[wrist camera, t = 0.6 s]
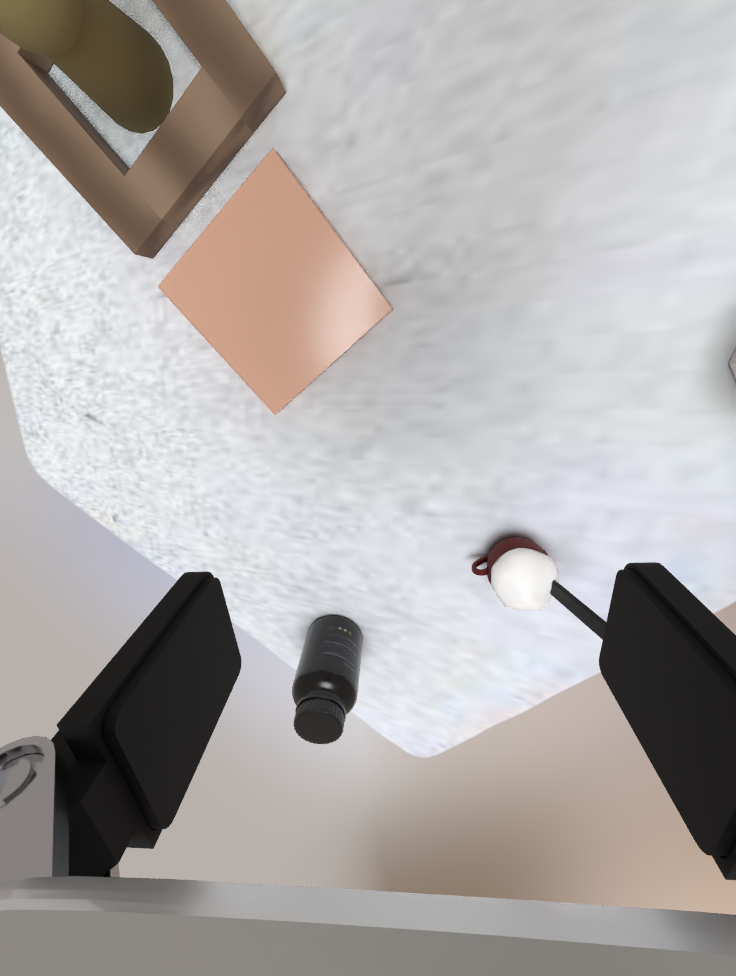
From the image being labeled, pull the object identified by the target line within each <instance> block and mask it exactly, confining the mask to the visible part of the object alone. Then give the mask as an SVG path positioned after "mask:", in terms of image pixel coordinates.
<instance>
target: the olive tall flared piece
mask: <svg viewBox="0 0 736 976" xmlns="http://www.w3.org/2000/svg"><path fill="white" fill-rule="evenodd" d="M0 33H1V34H2V35H3V36H4V37H6V38H7V39H9V40H10V41H11V42H13V43H15V44H16V45H18V46H20V47H21V48H23V49H25V50H26V51H28V52H31V53H34V54H38V55H43V56H47V57H48V58H49V59H50V60H51V61H52V62H53V63H54V64H55V65H56V66H57V67H58V68H59V69H60V70H62V71H63V72H64V73H65V74H66V75H67V76H68V77H69V78H70V79H71V80H72V81H73V82H74V83H75V84H76V85H77V86H78V87H79V88H80V89H81V90H82V91H83V92H85V93H86V94H87V95H88V96H89V97H90V98H91V99H92V100H93V101H94V102H95V103H96V104H97V105H98V106H99V107H100V108H101V109H102V110H103V111H104V112H105V113H106V114H108V115H109V116H110V117H111V118H112V119H113V120H114V121H115V122H116V123H117V124H118V125H120V126H122V127H123V128H125V129H127V130H129V131H132V132H138V133H145V132H149V131H153V130H154V129H156V128H157V127H158V126H160V125H161V124H162V123H163V122H164V120H165V118H166V117H167V115H168V113H169V112H170V108H171V103H172V99H173V78H172V74H171V70H170V66H169V62H168V60H167V58H166V56H165V54H164V52H163V50H162V48H161V46H160V45H159V44H158V43H157V42H156V40H155V39H154V38H153V37H152V36H151V35H150V34H149V33H148V32H147V31H146V30H145V29H143V28H142V27H141V26H140V25H138V24H137V23H136V22H135V21H133V20H132V19H131V18H130V17H128V16H127V15H126V14H125V13H124V12H122V11H121V10H120V9H119V8H117V7H116V6H115V5H114V4H112V3H111V2H110V1H109V0H0Z"/></svg>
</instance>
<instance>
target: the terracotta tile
mask: <svg viewBox="0 0 736 976" xmlns="http://www.w3.org/2000/svg"><path fill="white" fill-rule="evenodd" d="M158 287H159V289H160V290H161V291H162V292H163V293H164V294H165V295H166V296H167V297H168V298H169V299H170V301H171V302H172V303H173V304H174V305H175V306H176V307H177V308H178V309H179V310H180V312H181V313H182V314H183V315H184V316H185V317H186V318H187V319H188V320H189V321H190V323H191V324H192V325H193V326H194V327H195V328H196V329H197V330H198V331H199V332H200V333H201V335H202V336H203V337H204V338H205V339H206V340H207V341H208V342H209V343H210V344H211V346H212V347H213V348H214V349H215V350H216V351H217V352H218V353H219V354H220V355H221V357H222V358H223V359H224V360H225V361H226V362H227V363H228V364H229V365H230V366H231V367H232V369H233V370H234V371H235V372H236V373H237V374H238V375H239V376H240V377H241V378H242V380H243V381H244V382H245V383H246V384H247V385H248V386H249V387H250V388H251V389H252V391H253V392H254V393H255V394H256V395H257V396H258V397H259V398H260V399H261V400H262V401H263V403H264V404H265V405H266V406H267V407H268V408H269V409H270V410H271V411H272V412H273V414H274V415H275V414H277V413H278V412H279V411H280V410H281V409H282V408H284V407H285V406H286V405H287V404H288V403H289V402H290V401H291V400H292V399H294V398H295V397H296V396H297V395H298V394H299V393H300V392H301V391H302V390H303V389H305V388H306V387H307V386H308V385H309V384H310V383H311V382H312V381H313V380H315V379H316V378H317V377H318V376H319V375H320V374H321V373H322V372H323V371H325V370H326V369H327V368H328V367H329V366H330V365H331V364H332V363H333V362H335V361H336V360H337V359H338V358H339V357H340V356H341V355H342V354H343V353H345V352H346V351H347V350H348V349H349V348H350V347H351V346H352V345H353V344H355V343H356V342H357V341H358V340H359V339H360V338H361V337H362V336H363V335H365V334H366V333H367V332H368V331H369V330H370V329H371V328H372V327H373V326H375V325H376V324H377V323H378V322H379V321H380V320H381V319H382V318H383V317H384V316H386V315H387V314H388V313H389V312H390V311H391V310H392V308H391V306H390V305H389V304H388V302H387V301H386V300H385V298H384V297H383V296H382V294H381V293H380V291H379V290H378V289H377V287H376V286H375V285H374V283H373V282H372V281H371V279H370V278H369V277H368V275H367V274H366V273H365V271H364V270H363V269H362V267H361V266H360V265H359V263H358V262H357V261H356V259H355V258H354V256H353V255H352V254H351V252H350V251H349V250H348V248H347V247H346V246H345V244H344V243H343V242H342V240H341V239H340V238H339V236H338V235H337V234H336V232H335V231H334V230H333V228H332V227H331V226H330V224H329V223H328V221H327V220H326V219H325V217H324V216H323V215H322V213H321V212H320V211H319V209H318V208H317V207H316V205H315V204H314V203H313V201H312V200H311V199H310V197H309V196H308V195H307V193H306V192H305V191H304V189H303V188H302V186H301V185H300V184H299V182H298V181H297V180H296V178H295V177H294V176H293V174H292V173H291V172H290V170H289V169H288V168H287V166H286V165H285V164H284V162H283V161H282V160H281V158H280V157H279V156H278V154H277V153H276V151H275V150H274V149H273V148H272V149H271V150H270V152H269V153H268V154H267V155H266V157H265V158H264V159H263V160H262V161H261V163H260V164H259V165H258V166H257V167H256V169H255V170H254V171H253V172H252V173H251V175H250V176H249V177H248V178H247V179H246V181H245V182H244V183H243V184H242V185H241V187H240V188H239V189H238V190H237V192H236V193H235V194H234V195H233V196H232V198H231V199H230V200H229V201H228V202H227V204H226V205H225V206H224V207H223V208H222V210H221V211H220V212H219V213H218V214H217V216H216V217H215V218H214V219H213V220H212V222H211V223H210V224H209V225H208V226H207V228H206V229H205V230H204V231H203V233H202V234H201V235H200V236H199V237H198V239H197V240H196V241H195V242H194V243H193V245H192V246H191V247H190V248H189V249H188V251H187V252H186V253H185V254H184V255H183V257H182V258H181V259H180V260H179V261H178V263H177V264H176V265H175V266H174V268H173V269H172V270H171V271H170V272H169V274H168V275H167V276H166V277H165V278H164V280H163V281H162V282H161V283H160V284H159V286H158Z"/></svg>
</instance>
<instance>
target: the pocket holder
mask: <svg viewBox="0 0 736 976" xmlns="http://www.w3.org/2000/svg"><path fill="white" fill-rule="evenodd" d="M153 1H154V3H155V4H156V5H157V7H158V8H159V9H160V11H161V12H162V13H163V15H164V16H165V17H166V19H167V20H168V21H169V23H170V24H171V25H172V27H173V28H174V29H175V31H176V32H177V33H178V35H179V36H180V37H181V39H182V40H183V41H184V43H185V44H186V45H187V47H188V48H189V49H190V51H191V52H192V53H193V55H194V56H195V57H196V59H197V60H198V61H199V63H200V64H201V65H202V68H201V69H200V71H199V72H198V74H197V75H196V76H195V78H194V79H193V81H192V82H191V83H190V85H189V86H188V88H187V89H186V91H185V92H184V93H183V95H182V96H181V98H180V99H179V100H178V102H177V103H176V105H175V106H174V107H173V109H172V110H171V112H170V113H169V115H168V116H167V117H166V119H165V120H164V122H163V123H162V124H161V126H160V127H159V129H158V130H157V131H156V133H155V134H154V136H153V137H152V139H151V140H150V141H149V143H148V144H147V146H146V147H145V148H144V150H143V151H142V153H141V154H140V155H139V157H138V158H137V160H136V161H135V162H134V164H133V165H132V167H131V168H130V169H129V168H128V167H127V166H126V164H125V163H124V162H123V161H122V160H121V159H120V157H119V156H118V155H117V154H116V153H115V152H114V150H113V149H112V148H111V147H110V146H109V145H108V143H107V142H106V141H105V140H104V139H103V137H102V136H101V135H100V134H99V133H98V132H97V130H96V129H95V128H94V127H93V126H92V125H91V123H90V122H89V121H88V120H87V119H86V118H85V116H84V115H83V114H82V113H81V112H80V111H79V109H78V108H77V107H76V106H75V105H74V104H73V102H72V101H71V100H70V99H69V98H68V97H67V95H66V94H65V93H64V92H63V91H62V90H61V88H60V87H59V86H58V85H57V84H56V83H55V81H54V80H53V79H52V78H51V77H50V76H49V74H48V72H49V70H50V68H51V67H52V65H53V62H52V61H51V60H50V59H49V58H48V57H47V56H43V55H38V54H34V53H31V52H28V51H26V50H25V49H23V48H21V47H20V46H18V45H16V44H15V43H13V42H11V41H10V40H9V39H7V38H6V37H4V36H3V35H2V34H1V33H0V106H1V107H2V108H3V110H4V111H5V112H6V113H7V114H8V115H9V116H10V117H11V118H12V119H13V121H14V122H15V123H16V124H17V125H18V126H19V127H20V128H21V129H22V130H23V132H24V133H25V134H26V135H27V136H28V137H29V138H30V139H31V140H32V141H33V143H34V144H35V145H36V146H37V147H38V148H39V149H40V150H41V151H42V153H43V154H44V155H45V156H46V157H47V158H48V159H49V160H50V161H51V162H52V164H53V165H54V166H55V167H56V168H57V169H58V170H59V171H60V172H61V173H62V175H63V176H64V177H65V178H66V179H67V180H68V181H69V182H70V183H71V184H72V186H73V187H74V188H75V189H76V190H77V191H78V192H79V193H80V194H81V196H82V197H83V198H84V199H85V200H86V201H87V202H88V203H89V204H90V205H91V207H92V208H93V209H94V210H95V211H96V212H97V213H98V214H99V215H100V216H101V218H102V219H103V220H104V221H105V222H106V223H107V224H108V225H109V226H110V227H111V229H112V230H113V231H114V232H115V233H116V234H117V235H118V236H119V237H120V239H121V240H122V241H123V242H124V243H125V244H126V245H127V246H128V247H129V248H130V250H131V251H132V252H133V253H134V254H136V255H140V256H145V257H149V258H154V257H155V255H156V254H157V253H158V252H159V250H160V249H161V248H162V247H163V245H164V244H165V243H166V242H167V240H168V239H169V238H170V237H171V235H172V234H173V233H174V232H175V230H176V229H177V228H178V227H179V225H180V224H181V223H182V222H183V220H184V219H185V218H186V217H187V215H188V214H189V213H190V212H191V210H192V209H193V208H194V207H195V205H196V204H197V203H198V202H199V200H200V199H201V198H202V197H203V195H204V194H205V193H206V192H207V190H208V189H209V188H210V187H211V185H212V184H213V183H214V182H215V180H216V179H217V178H218V177H219V175H220V174H221V173H222V172H223V170H224V169H225V168H226V166H227V165H228V164H229V163H230V161H231V160H232V159H233V158H234V156H235V155H236V154H237V153H238V151H239V150H240V149H241V148H242V146H243V145H244V144H245V143H246V141H247V140H248V139H249V138H250V136H251V135H252V134H253V133H254V131H255V130H256V129H257V128H258V126H259V125H260V124H261V123H262V121H263V120H264V119H265V118H266V116H267V115H268V114H269V113H270V111H271V110H272V109H273V108H274V106H275V105H276V104H277V103H278V101H279V100H280V99H281V98H282V96H283V95H284V94H285V93H286V91H285V89H284V87H283V85H282V83H281V81H280V79H279V77H278V75H277V73H276V71H275V70H274V69H273V67H272V66H271V64H270V63H269V62H268V60H267V59H266V57H265V56H264V54H263V53H262V52H261V50H260V49H259V47H258V46H257V44H256V43H255V42H254V40H253V39H252V37H251V36H250V35H249V33H248V32H247V30H246V29H245V27H244V26H243V25H242V23H241V22H240V20H239V19H238V17H237V16H236V15H235V13H234V12H233V10H232V9H231V7H230V6H229V5H228V3H227V2H226V0H153Z"/></svg>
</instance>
